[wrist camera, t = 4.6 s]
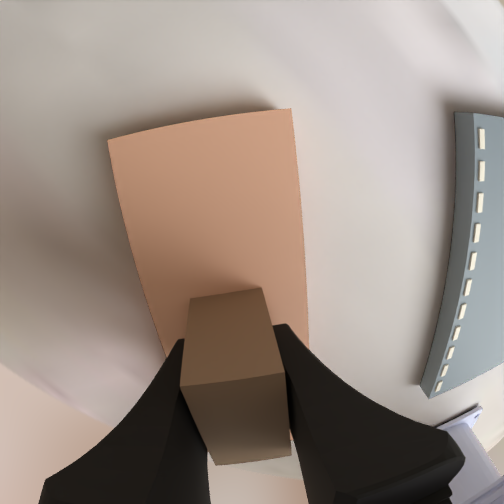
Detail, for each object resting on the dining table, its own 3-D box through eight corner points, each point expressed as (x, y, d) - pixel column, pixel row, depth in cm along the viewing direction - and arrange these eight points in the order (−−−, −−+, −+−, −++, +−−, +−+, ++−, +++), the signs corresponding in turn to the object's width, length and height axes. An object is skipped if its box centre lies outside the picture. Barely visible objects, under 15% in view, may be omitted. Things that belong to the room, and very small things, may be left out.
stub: (305, 422, 15) (327, 499, 10) (207, 437, 15) (209, 516, 10) (284, 110, 9) (344, 96, 5) (117, 138, 9) (36, 152, 4)
